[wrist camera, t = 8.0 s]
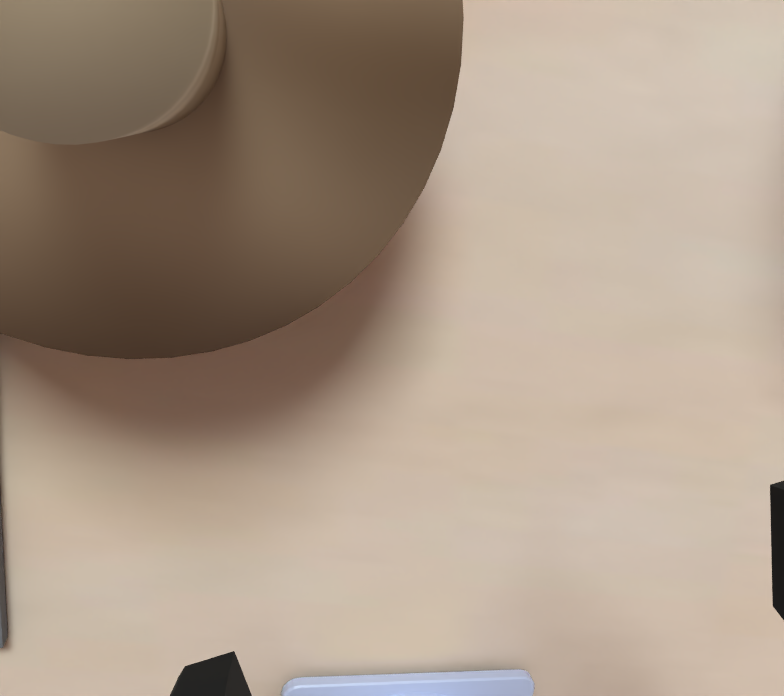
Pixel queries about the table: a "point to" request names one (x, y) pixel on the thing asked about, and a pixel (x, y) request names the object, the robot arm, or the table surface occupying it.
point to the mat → (2, 592)
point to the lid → (207, 161)
